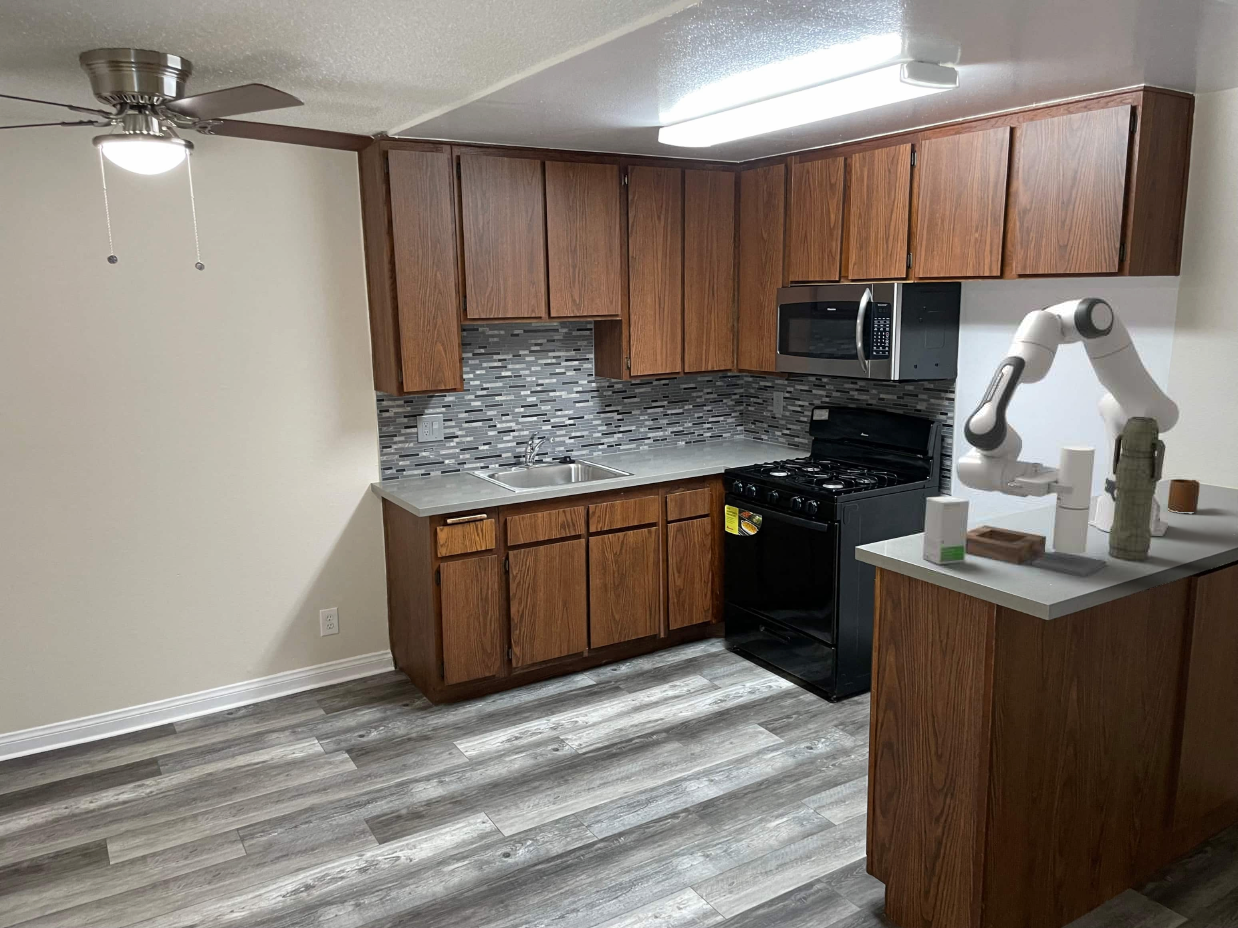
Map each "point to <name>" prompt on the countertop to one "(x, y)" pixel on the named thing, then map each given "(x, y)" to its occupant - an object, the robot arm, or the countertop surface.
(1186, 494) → the mug
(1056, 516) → the cylindrical container
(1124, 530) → the thermos
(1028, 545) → the pocket block
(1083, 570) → the rubber mat
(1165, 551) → the countertop surface
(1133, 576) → the countertop surface
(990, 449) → the robot arm
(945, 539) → the skincare box
